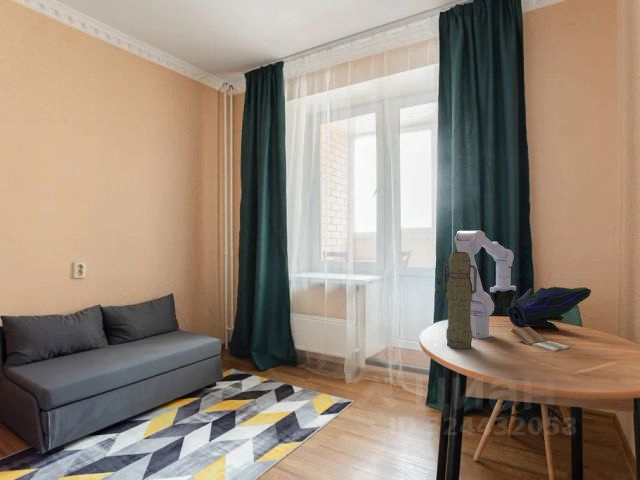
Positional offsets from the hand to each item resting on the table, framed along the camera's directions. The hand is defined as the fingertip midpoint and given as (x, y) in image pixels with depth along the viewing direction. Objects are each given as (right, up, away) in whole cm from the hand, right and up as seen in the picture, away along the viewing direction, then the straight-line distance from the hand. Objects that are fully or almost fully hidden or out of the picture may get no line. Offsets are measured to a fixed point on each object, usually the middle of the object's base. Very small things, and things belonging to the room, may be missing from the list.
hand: (503, 307), depth 162 cm
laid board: (+4, -10, -26) cm, 29 cm away
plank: (0, -8, -19) cm, 20 cm away
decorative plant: (+21, -10, +6) cm, 24 cm away
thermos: (-28, -10, -24) cm, 38 cm away
